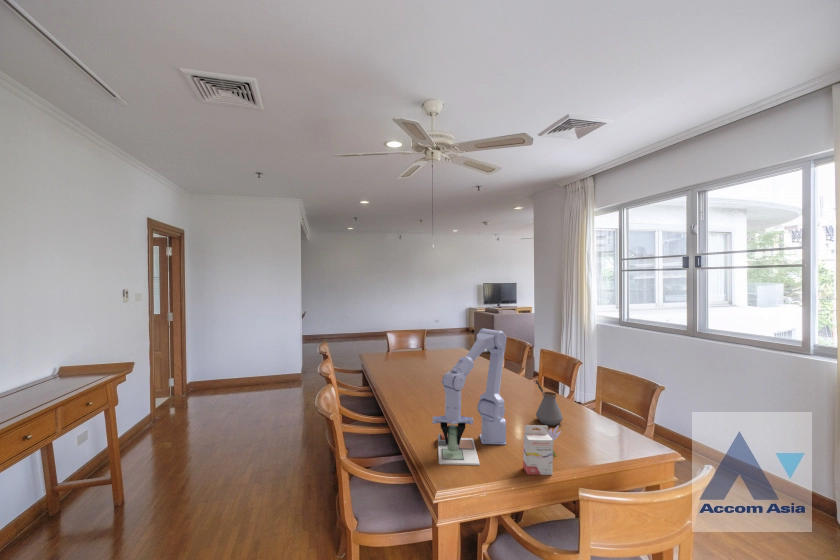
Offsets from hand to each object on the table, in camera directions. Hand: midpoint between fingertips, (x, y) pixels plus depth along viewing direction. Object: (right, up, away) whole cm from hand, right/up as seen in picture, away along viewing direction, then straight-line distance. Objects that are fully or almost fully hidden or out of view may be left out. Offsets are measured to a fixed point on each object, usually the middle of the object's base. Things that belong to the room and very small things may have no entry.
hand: (452, 443), depth 132 cm
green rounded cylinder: (0, -2, 0) cm, 2 cm away
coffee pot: (+46, -5, +38) cm, 60 cm away
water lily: (+35, -5, +5) cm, 36 cm away
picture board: (+2, -5, +4) cm, 6 cm away
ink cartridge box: (+28, -5, -10) cm, 30 cm away
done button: (-2, -3, +10) cm, 11 cm away
